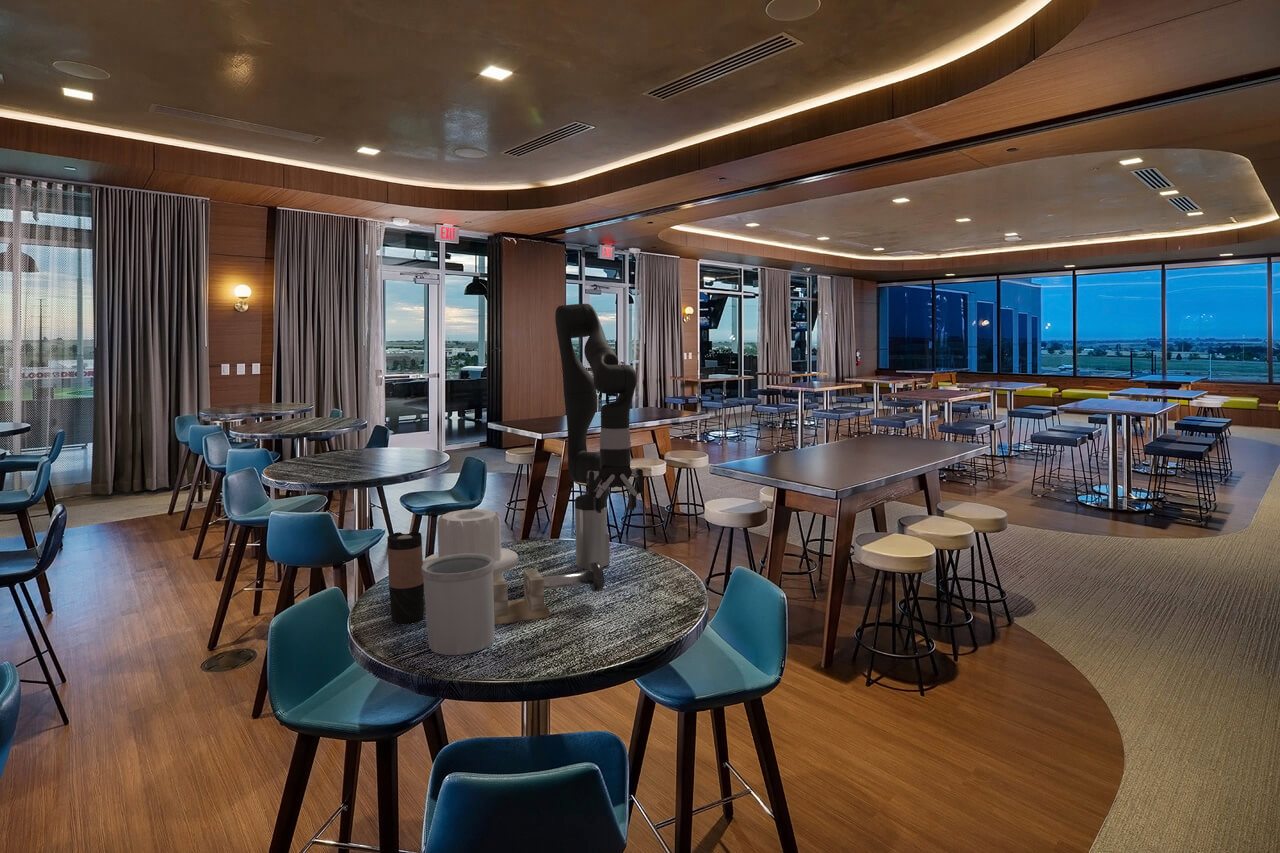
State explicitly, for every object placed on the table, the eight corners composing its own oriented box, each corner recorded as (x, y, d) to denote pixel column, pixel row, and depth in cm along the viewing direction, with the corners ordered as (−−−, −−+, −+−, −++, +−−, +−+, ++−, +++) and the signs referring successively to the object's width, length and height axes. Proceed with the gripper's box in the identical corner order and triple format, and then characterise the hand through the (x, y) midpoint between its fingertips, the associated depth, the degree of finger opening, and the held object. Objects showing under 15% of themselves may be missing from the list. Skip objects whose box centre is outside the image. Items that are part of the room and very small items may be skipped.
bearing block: (539, 602, 170) (539, 567, 169) (549, 616, 161) (548, 579, 160) (486, 609, 165) (485, 573, 164) (493, 624, 156) (492, 586, 155)
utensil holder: (409, 651, 142) (406, 569, 141) (453, 625, 156) (450, 550, 154) (469, 662, 137) (466, 576, 135) (509, 633, 151) (507, 556, 149)
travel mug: (405, 628, 155) (401, 541, 153) (383, 621, 159) (379, 536, 157) (432, 617, 161) (429, 533, 159) (410, 610, 165) (406, 529, 163)
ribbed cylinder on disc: (469, 607, 167) (466, 531, 165) (402, 589, 181) (399, 518, 179) (537, 579, 188) (536, 511, 186) (473, 564, 202) (470, 501, 200)
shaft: (595, 585, 173) (595, 558, 172) (604, 594, 167) (603, 566, 166) (524, 595, 167) (524, 567, 166) (530, 604, 160) (530, 575, 160)
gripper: (637, 443, 174) (637, 506, 175) (583, 445, 169) (583, 510, 171) (647, 446, 167) (647, 512, 168) (591, 448, 162) (591, 516, 164)
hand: (615, 511), depth 170 cm, fingers open, 8 cm apart
